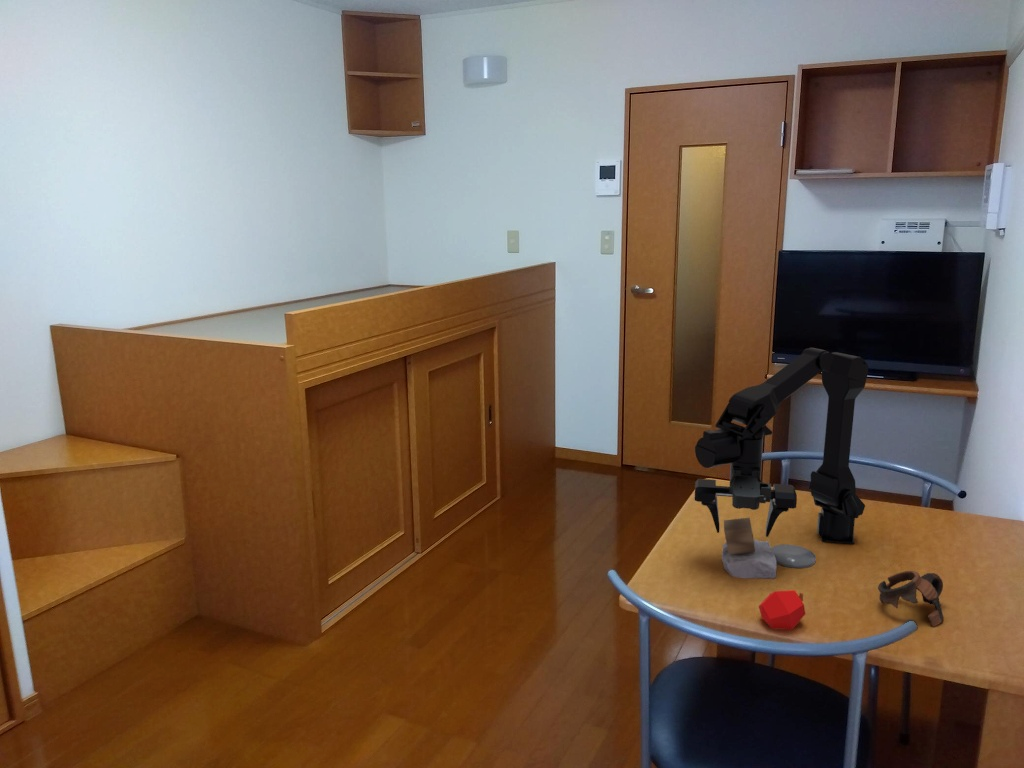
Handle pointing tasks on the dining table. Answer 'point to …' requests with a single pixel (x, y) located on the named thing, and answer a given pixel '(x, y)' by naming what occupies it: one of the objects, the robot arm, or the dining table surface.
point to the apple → (782, 609)
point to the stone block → (751, 562)
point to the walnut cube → (739, 535)
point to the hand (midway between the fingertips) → (742, 533)
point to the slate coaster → (793, 556)
